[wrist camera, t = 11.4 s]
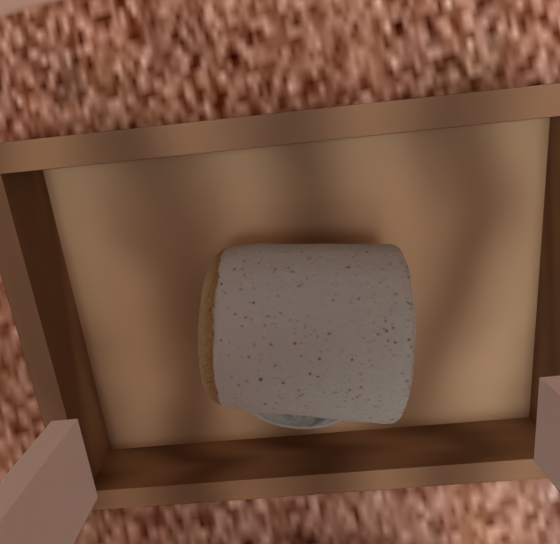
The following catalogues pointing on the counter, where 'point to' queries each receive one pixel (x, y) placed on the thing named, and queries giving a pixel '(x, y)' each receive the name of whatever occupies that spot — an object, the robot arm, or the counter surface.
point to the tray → (290, 230)
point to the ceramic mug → (308, 332)
